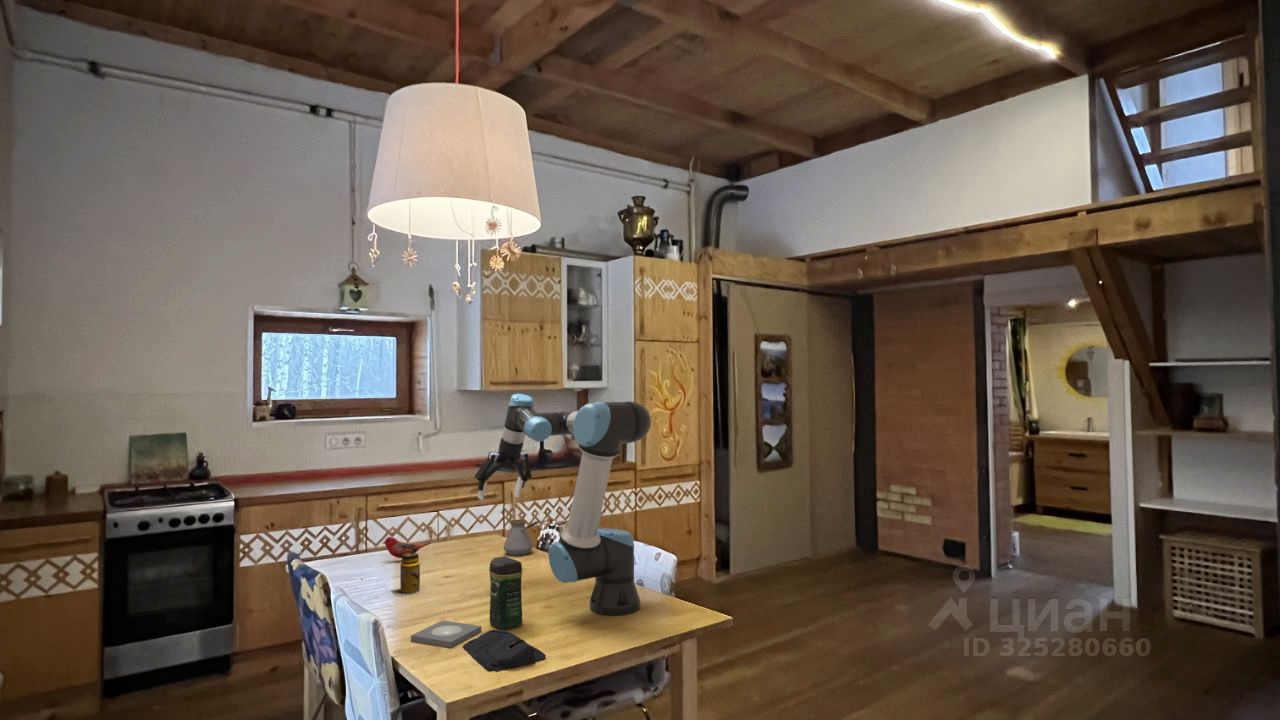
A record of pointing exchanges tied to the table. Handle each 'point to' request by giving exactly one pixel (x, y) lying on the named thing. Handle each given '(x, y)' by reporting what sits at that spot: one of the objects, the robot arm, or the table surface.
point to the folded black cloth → (502, 651)
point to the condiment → (409, 575)
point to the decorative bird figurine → (401, 547)
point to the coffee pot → (518, 538)
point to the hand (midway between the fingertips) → (498, 497)
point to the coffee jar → (505, 592)
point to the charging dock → (446, 633)
